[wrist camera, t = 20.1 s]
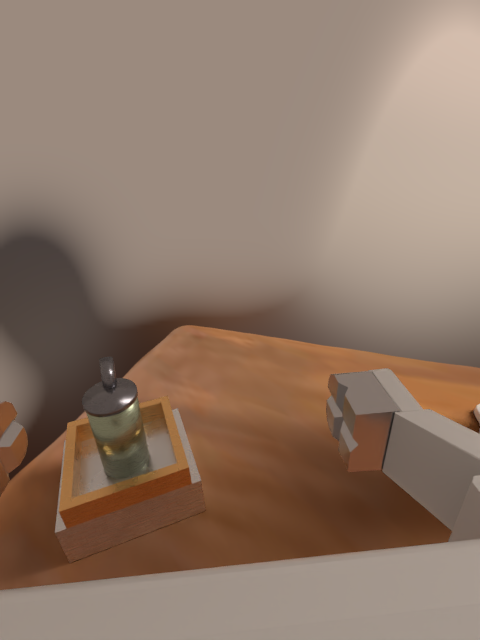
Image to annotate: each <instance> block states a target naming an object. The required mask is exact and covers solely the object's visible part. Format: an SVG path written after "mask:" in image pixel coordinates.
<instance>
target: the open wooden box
mask: <svg viewBox="0 0 480 640" xmlns="http://www.w3.org/2000/svg"><path fill="white" fill-rule="evenodd" d="M139 407H140V412H141V416H142V421H143V426H144V431H145V436H146V440H147V445H148V450H149V459H148V462H147V463H146V465H145V466H144V468H143V469H142V470H140V471H139V472H138V473H136V474H135V475H133V476H130V477H127V478H122V479H117V478H112V477H110V476H108V475H107V474H106V473H105V471H104V468H103V465H102V462H101V459H100V455H99V452H98V449H97V446H96V442H95V439H94V436H93V433H92V429H91V426H90V423H89V419H88V418H84V419H80V420H77V421H73V422H70V423H68V426H67V435H66V440H65V441H64V450H63V460H62V469H61V479H60V488H59V498H58V508H57V517H56V527H55V534H56V536H57V538H58V540H59V542H60V544H61V546H62V548H63V550H64V552H65V555H66V557H67V559H68V561H69V563H72V562H74V561H77V560H79V559H82V558H85V557H87V556H90V555H92V554H95V553H97V552H100V551H103V550H105V549H108V548H110V547H113V546H116V545H118V544H121V543H123V542H126V541H128V540H131V539H134V538H136V537H139V536H141V535H144V534H146V533H149V532H152V531H154V530H157V529H159V528H162V527H165V526H167V525H170V524H172V523H175V522H177V521H180V520H183V519H185V518H188V517H190V516H193V515H196V514H198V513H201V512H203V511H206V510H205V503H204V496H203V489H202V483H201V478H200V475H199V472H198V469H197V466H196V463H195V460H194V457H193V454H192V451H191V448H190V445H189V442H188V439H187V435H186V432H185V429H184V426H183V423H182V420H181V417H180V414H179V411H178V408H177V409H174V410H172V409H171V405H170V402H169V399H168V396H165V397H161V398H158V399H154V400H150V401H147V402H143V403H139Z"/></svg>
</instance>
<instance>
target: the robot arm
mask: <svg viewBox="0 0 480 640" xmlns="http://www.w3.org/2000/svg"><path fill="white" fill-rule="evenodd" d="M328 388H329V390H330V392H331V396H330V397H329V399H328V400H327V406H326V413H327V421H328V425H329V429H330V431H331V434H332V436H333V437H334V438H336V439H337V440H338V441H339V448H338V451H339V453H340V455H341V458H342V460H343V462H344V465H345V467H346V469H347V472H358V471H373V470H383V471H382V472H383V473H385V474H386V475H387V476H388V477H389V478H390V479H392V480H393V481H394V482H395V483H396V484H397V485H399V486H400V487H401V488H402V489H403V490H405V491H406V492H407V493H408V494H409V495H410V496H412V497H413V498H414V499H415V500H416V501H417V502H419V503H420V504H421V505H422V506H423V507H424V508H426V509H427V510H428V511H429V512H430V513H431V514H433V515H434V516H435V517H436V518H437V519H439V520H440V521H441V522H442V523H443V524H444V525H446V526H447V527H448V528H449V529H450V530H451V531H452V533H451V535H450V538H449V541H448V542H445V543H436V544H427V545H417V546H408V547H399V548H389V549H380V550H371V551H361V552H352V553H343V554H333V555H324V556H315V557H306V558H296V559H287V560H278V561H269V562H259V563H250V564H241V565H232V566H223V567H213V568H204V569H195V570H186V571H176V572H167V573H158V574H149V575H139V576H130V577H121V578H111V579H102V580H93V581H83V582H74V583H64V584H55V585H46V586H36V587H27V588H18V589H8V590H0V640H480V430H479V433H477V432H475V431H473V430H471V429H468V428H466V427H464V426H462V425H460V424H458V423H456V422H454V421H452V420H450V419H448V418H446V417H444V416H442V415H440V414H438V413H436V412H434V411H432V410H430V409H426V410H423V408H422V407H421V406H420V405H419V404H418V402H417V401H416V400H415V399H414V397H413V396H412V395H411V394H410V393H409V391H408V390H407V389H406V388H405V387H404V385H403V384H402V383H401V382H400V380H399V379H398V378H397V377H396V376H395V374H394V373H393V372H392V371H391V370H390V369H387V368H386V369H377V370H368V371H364V372H353V373H341V374H331V375H330V377H329V382H328ZM474 414H475V417H476V418H477V420H478V422H479V424H480V404H478V405H477V406H476V407H475V409H474ZM16 415H17V412H16V410H15V408H14V406H13V404H12V403H9V402H6V401H3V402H0V496H1V494H2V493H3V491H4V490H5V488H6V486H7V485H8V483H9V481H10V480H9V475H8V473H9V472H11V471H12V470H13V469H15V468H16V467H17V466H19V465H20V463H21V461H22V460H23V458H24V456H25V453H26V449H27V444H28V442H27V434H26V432H25V429H24V427H23V426H21V425H20V424H18V423H17V422H15V421H14V420H15V418H16Z"/></svg>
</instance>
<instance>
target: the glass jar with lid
mask: <svg viewBox="0 0 480 640" xmlns="http://www.w3.org/2000/svg"><path fill="white" fill-rule="evenodd" d="M99 363H100V370H101V377H102V382H99V383H97V384H96V385H94V386H93V387H91V388H90V389H89V390H87V391H86V393H85V394H84V396H83V399H82V404H83V407H84V410H85V411H86V413H87V416H88V419H89V423H90V426H91V429H92V433H93V436H94V439H95V442H96V446H97V449H98V452H99V455H100V459H101V462H102V465H103V468H104V471H105V473H106V474H107V475H108V476H110V477H112V478H117V479H122V478H127V477H130V476H133V475H135V474H136V473H138V472H139V471H140V470H142V469H143V468H144V466H145V465H146V463H147V462H148V459H149V450H148V445H147V440H146V436H145V431H144V426H143V421H142V416H141V412H140V407H139V402H138V397H137V396H138V392H137V387H136V385H135V383H134V382H132V381H131V380H128V379H124V378H116V374H115V368H114V362H113V357H104V358H101V359H99Z"/></svg>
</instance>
